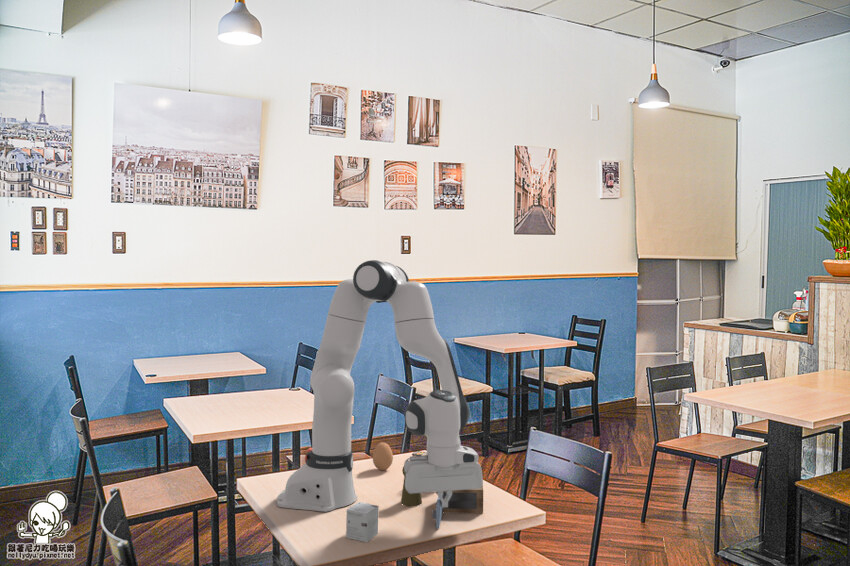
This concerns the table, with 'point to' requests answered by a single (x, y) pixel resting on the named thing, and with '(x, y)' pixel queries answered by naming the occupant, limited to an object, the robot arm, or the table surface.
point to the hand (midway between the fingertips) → (444, 506)
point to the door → (437, 513)
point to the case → (465, 501)
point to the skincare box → (362, 521)
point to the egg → (382, 456)
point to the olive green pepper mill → (410, 496)
